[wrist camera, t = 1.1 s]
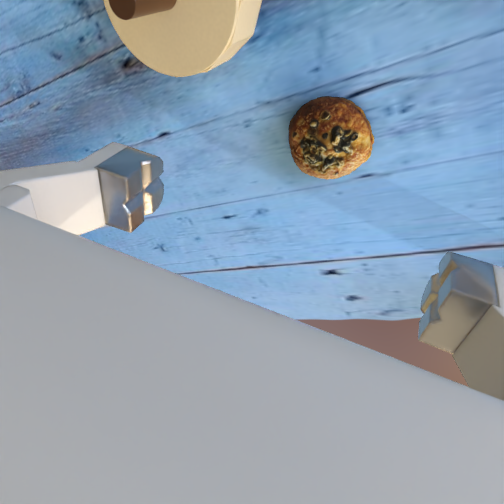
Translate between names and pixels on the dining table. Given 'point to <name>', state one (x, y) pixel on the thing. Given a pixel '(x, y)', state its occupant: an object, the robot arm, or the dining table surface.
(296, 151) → the bread roll
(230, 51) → the lid
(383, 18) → the dining table surface
